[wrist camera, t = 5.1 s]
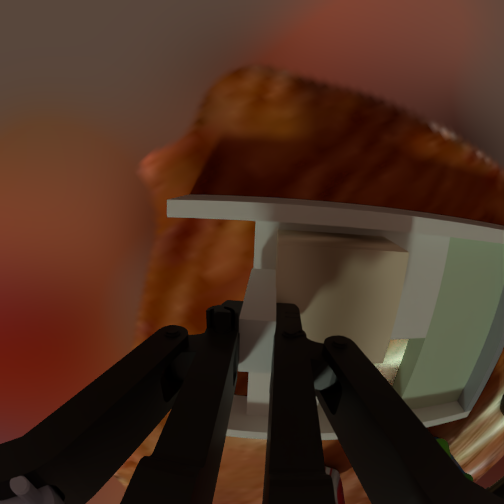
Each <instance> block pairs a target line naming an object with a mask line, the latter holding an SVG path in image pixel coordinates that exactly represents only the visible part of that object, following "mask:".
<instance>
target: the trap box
mask: <svg viewBox="0 0 504 504" xmlns="http://www.w3.org/2000/svg"><path fill="white" fill-rule="evenodd" d="M167 217H183V218H209V219H231V220H251V221H256V227H255V248H254V268H255V269H272V270H275V267H276V251H277V234H278V229H279V230H296V231H312V232H328V233H343V234H357V235H370V236H383V237H385V238H387V239H389V240H390V241H392V242H393V243H395V244H397V245H398V246H400V247H401V248H403V249H405V250H406V251H408V252H409V258H408V264H407V269H406V274H405V280H404V284H403V289H402V294H401V298H400V303H399V307H398V311H397V315H396V319H395V323H394V327H393V330H392V334H391V338H390V339H409V341H408V344H407V347H406V350H405V353H404V356H403V359H402V362H401V364H400V367H399V370H398V373H397V375H396V378H395V380H394V383H393V385H392V387H393V388H394V389H395V391H396V392H397V393H398V394H399V395H400V397H401V398H402V399H403V400H404V401H405V403H406V404H407V405H408V406H409V407H410V409H411V410H412V411H413V412H414V413H415V415H416V416H417V417H418V418H419V420H420V421H421V422H422V423H423V424H424V426H425V427H430V426H435V425H439V424H443V423H447V422H451V421H455V420H458V419H462V418H465V417H467V416H468V415H469V413H470V411H471V410H472V408H473V406H474V405H475V403H476V401H477V400H478V398H479V396H480V394H481V392H482V391H483V389H484V387H485V385H486V383H487V381H488V379H489V377H490V375H491V373H492V371H493V369H494V367H495V365H496V363H497V361H498V359H499V356H500V354H501V352H502V349H503V347H504V226H503V225H498V224H492V223H487V222H482V221H476V220H470V219H464V218H458V217H452V216H446V215H439V214H433V213H426V212H418V211H411V210H403V209H395V208H387V207H379V206H370V205H360V204H350V203H340V202H328V201H316V200H303V199H289V198H273V197H254V196H231V195H196V194H189V195H185V196H180V197H176V198H172V199H168V200H167ZM270 378H271V374H269V373H254V372H249V374H248V394H247V396H240V395H234V397H233V402H232V407H231V412H230V418H229V423H228V428H227V433H226V436H232V437H242V438H254V439H267V431H268V414H269V396H270V393H269V388H270ZM316 401H317V409H318V416H319V424H320V432H321V440H334V439H338V438H337V436H336V434H335V432H334V430H333V428H332V426H331V424H330V423H329V421H328V419H327V417H326V415H325V413H324V411H323V409H322V407H321V405H320V403H319V401H318V399H317V397H316Z"/></svg>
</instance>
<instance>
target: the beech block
mask: <svg viewBox="0 0 504 504" xmlns="http://www.w3.org/2000/svg"><path fill="white" fill-rule="evenodd" d="M408 258H409V252H408V251H406V250H405V249H403V248H401V247H400V246H398V245H397V244H395V243H393V242H392V241H390V240H389V239H387V238H385V237H383V236H370V235H357V234H343V233H328V232H312V231H296V230H279V229H278V234H277V251H276V267H275V270H276V303H291V304H295V305H296V306H297V307H298V308H299V311H300V318H301V324H302V330H303V331H305V333H306V336H307V338H308V339H310V340H312V341H315V342H319V343H324V341H325V339H326V338H328V337H330V336H338V335H340V336H345V337H347V338H350V339H351V340H352V341H354V342H355V344H356V345H357V346H358V347H359V348H360V349H361V351H362V352H363V353H364V354H365V355H366V356H367V358H368V359H369V360H370V361H371V362H372V363H383V361H384V358H385V354H386V351H387V348H388V344H389V341H390V338H391V334H392V330H393V327H394V323H395V319H396V315H397V311H398V307H399V303H400V298H401V294H402V289H403V284H404V280H405V274H406V269H407V264H408Z"/></svg>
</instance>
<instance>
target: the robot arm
mask: <svg viewBox="0 0 504 504" xmlns="http://www.w3.org/2000/svg"><path fill="white" fill-rule="evenodd" d="M206 319H207V329H206V331H205V333H202V334H197V335H188V331H187V330H186V329H185V328H184V327H181V326H176V325H169V326H165V327H163V328H161V329H159V330H158V331H157V332H155V333H154V334H153V335H151V336H150V337H149V338H148V339H146V340H145V341H144V342H143V343H141V344H140V345H139V346H137V347H136V348H135V349H134V350H132V351H131V352H130V353H129V354H127V355H126V356H125V357H123V358H122V359H121V360H120V361H118V362H117V363H116V364H115V365H113V366H112V367H111V368H109V369H108V370H107V371H106V372H104V373H103V374H102V375H101V376H99V377H98V378H97V379H95V380H94V381H93V382H92V383H90V384H89V385H88V386H86V387H85V388H84V389H83V390H82V391H80V392H79V393H78V394H77V395H75V396H74V397H73V398H71V399H70V400H69V401H67V402H66V403H65V404H63V405H62V406H61V407H60V408H58V409H57V410H56V411H55V412H54V413H52V414H51V415H49V416H48V417H47V418H46V419H44V420H43V421H42V422H40V423H39V424H38V425H37V426H36V427H34V428H33V429H31V430H30V431H29V432H28V433H26V434H25V435H24V436H22V437H20V438H17V439H14V440H11V441H8V442H5V443H2V444H0V504H85V503H86V502H88V501H89V500H90V499H91V498H92V497H93V496H94V495H95V494H96V493H97V492H98V491H99V490H100V489H101V487H103V486H104V484H105V483H106V482H107V481H108V480H109V479H110V478H111V477H112V476H113V475H114V474H115V472H116V471H117V470H118V469H119V468H120V467H121V466H122V465H123V464H124V463H125V461H126V460H127V459H128V458H129V457H130V456H131V455H132V454H133V452H134V451H135V450H136V449H137V448H138V447H139V446H140V444H141V443H142V442H143V441H144V440H145V439H146V438H147V436H148V435H149V434H150V433H151V432H152V431H153V429H154V428H155V427H156V426H157V425H158V424H159V422H160V421H161V420H162V419H163V418H164V417H165V415H166V414H167V413H168V412H169V411H170V410H171V411H170V414H169V416H168V418H167V421H166V423H165V425H164V428H163V430H162V432H161V435H160V437H159V440H158V442H157V444H156V447H155V449H154V451H153V453H152V455H151V456H144V457H143V458H141V460H140V461H139V463H138V465H137V467H136V469H135V471H134V474H133V476H132V478H131V480H130V483H129V485H128V487H127V489H126V492H125V494H124V497H123V499H122V501H121V503H120V504H212V501H213V496H214V492H215V487H216V482H217V477H218V472H219V467H220V462H221V457H222V452H223V447H224V443H225V438H226V433H227V428H228V423H229V418H230V412H231V407H232V402H233V397H234V392H235V387H236V382H237V369H238V371H241V372H254V373H269V374H271V378H270V388H269V393H270V396H269V414H268V431H267V447H266V462H265V476H264V489H263V501H262V504H335V495H334V486H333V481H332V478H331V476H330V475H328V474H326V472H325V466H324V457H323V448H322V440H321V432H320V424H319V416H318V409H317V401H316V397H317V399H318V401H319V403H320V405H321V407H322V409H323V411H324V413H325V415H326V417H327V419H328V421H329V423H330V424H331V426H332V428H333V430H334V432H335V434H336V436H337V438H338V440H339V442H340V444H341V446H342V448H343V450H344V452H345V454H346V455H347V457H348V459H349V461H350V463H351V465H352V467H353V469H354V471H355V473H356V475H357V477H358V479H359V480H360V482H361V484H362V486H363V488H364V490H365V492H366V494H367V496H368V498H369V500H370V501H371V503H372V504H504V476H503V477H502V478H501V479H500V480H498V481H497V482H496V483H495V484H493V485H492V486H491V487H488V488H486V489H484V488H483V487H481V486H479V485H478V484H476V483H474V482H473V481H471V480H469V479H468V478H466V477H465V475H464V474H463V473H462V472H461V470H460V469H459V468H458V466H457V465H456V464H455V463H454V461H453V460H452V459H451V458H450V456H449V455H448V454H447V453H446V451H445V450H444V449H443V448H442V447H441V445H440V444H439V443H438V442H437V440H436V439H435V438H434V437H433V435H432V434H431V433H430V432H429V431H428V429H427V428H426V427H425V426H424V424H423V423H422V422H421V421H420V420H419V418H418V417H417V416H416V415H415V413H414V412H413V411H412V410H411V409H410V407H409V406H408V405H407V404H406V403H405V401H404V400H403V399H402V398H401V397H400V395H399V394H398V393H397V392H396V391H395V389H394V388H393V387H392V386H391V385H390V384H389V382H388V381H387V380H386V379H385V378H384V376H383V375H382V374H381V373H380V372H379V370H378V369H377V368H376V367H375V366H374V365H373V363H372V362H371V361H370V360H369V359H368V358H367V356H366V355H365V354H364V353H363V352H362V351H361V349H360V348H359V347H358V346H357V345H356V344H355V342H354V341H352V340H351V339H350V338H347V337H345V336H340V335H338V336H330V337H328V338H326V339H325V341H324V343H319V342H315V341H312V340H310V339H308V338H307V336H306V333H305V331H303V330H302V324H301V318H300V311H299V308H298V307H297V306H296V305H295V304H291V303H276V270H272V269H255V268H252V270H251V274H250V278H249V282H248V286H247V290H246V294H245V298H244V301H231V300H227V301H226V302H224V303H223V304H222V305H217V306H212V307H210V308H208V309H207V310H206ZM171 408H172V409H171ZM500 410H501V412H502V414H503V415H504V395H503V398H502V401H501V405H500Z"/></svg>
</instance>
